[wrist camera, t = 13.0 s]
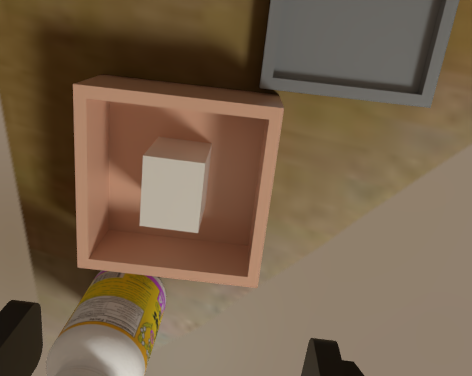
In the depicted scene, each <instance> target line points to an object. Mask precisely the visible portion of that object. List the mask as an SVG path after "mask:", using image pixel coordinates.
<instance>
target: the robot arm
mask: <svg viewBox="0 0 472 376" xmlns="http://www.w3.org/2000/svg"><path fill="white" fill-rule="evenodd" d="M42 346H43V340H42V322H41V307H40V305H39V303H33V302H25V301H17V300H11V301H9V302H8V303H7V305H6V306H5V307H4V308H3V309H2V310H1V311H0V376H31V375H32V373H33V372H34V370H35V368H36V367H37V365H38V362H39V360H40V357H41V353H42ZM301 376H364V375H363V373H362V372H361V371H360V369H359V368H358V367H357V366H356V364H355V363H354V362H351V361H344V360H342V359H341V355H340V351H339V347H338V344H337V342H336V341H332V340H324V339H316V338H315V339H314V338H311V339H310V340H309V344H308V348H307V352H306V357H305V361H304V365H303V370H302V374H301Z"/></svg>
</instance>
